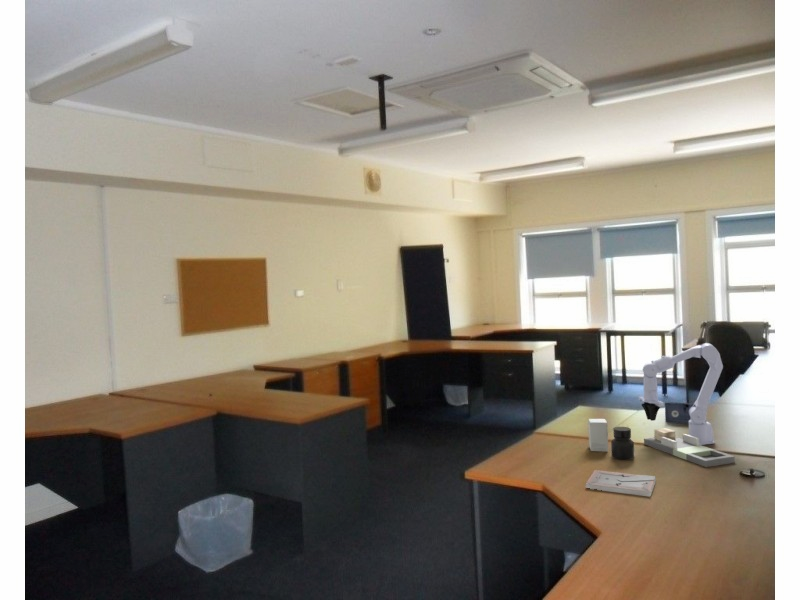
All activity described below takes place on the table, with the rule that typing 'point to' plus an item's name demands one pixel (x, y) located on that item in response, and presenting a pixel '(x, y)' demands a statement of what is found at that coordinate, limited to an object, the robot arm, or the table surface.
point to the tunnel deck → (690, 450)
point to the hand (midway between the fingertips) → (651, 419)
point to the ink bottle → (622, 444)
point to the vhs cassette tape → (677, 412)
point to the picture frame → (621, 483)
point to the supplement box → (598, 434)
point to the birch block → (664, 434)
